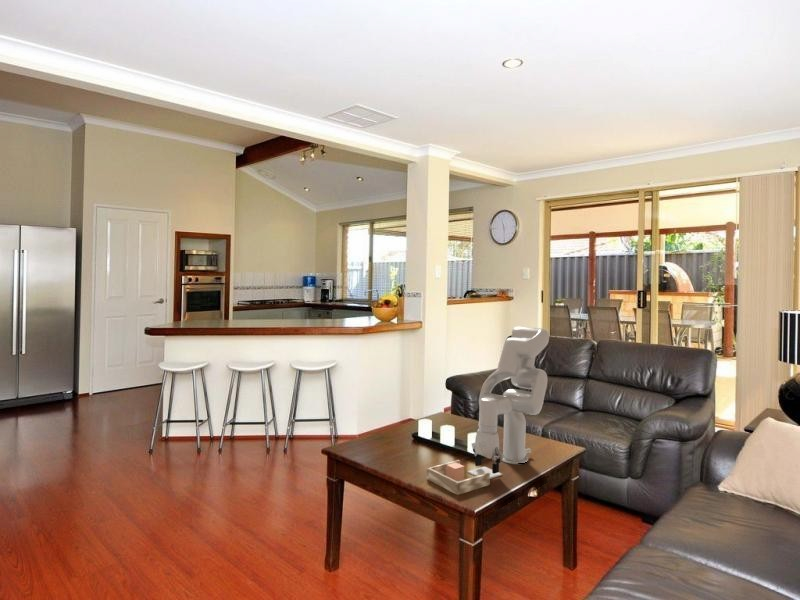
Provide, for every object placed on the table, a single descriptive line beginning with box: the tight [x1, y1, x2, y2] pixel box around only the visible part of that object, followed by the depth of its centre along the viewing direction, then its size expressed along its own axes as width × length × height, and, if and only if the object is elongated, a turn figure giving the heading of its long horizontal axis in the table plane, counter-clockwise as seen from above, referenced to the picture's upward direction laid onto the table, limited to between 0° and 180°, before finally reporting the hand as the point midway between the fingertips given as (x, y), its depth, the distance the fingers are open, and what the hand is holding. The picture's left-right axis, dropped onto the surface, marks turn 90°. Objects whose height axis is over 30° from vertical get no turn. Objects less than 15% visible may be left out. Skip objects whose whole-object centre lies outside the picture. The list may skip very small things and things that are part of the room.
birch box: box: [426, 459, 491, 496], centre depth 206 cm, size 17×18×4 cm
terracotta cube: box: [445, 462, 466, 482], centre depth 205 cm, size 5×5×7 cm
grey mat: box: [467, 466, 503, 480], centre depth 215 cm, size 10×10×1 cm
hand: (486, 469), depth 215 cm, fingers open, 9 cm apart
